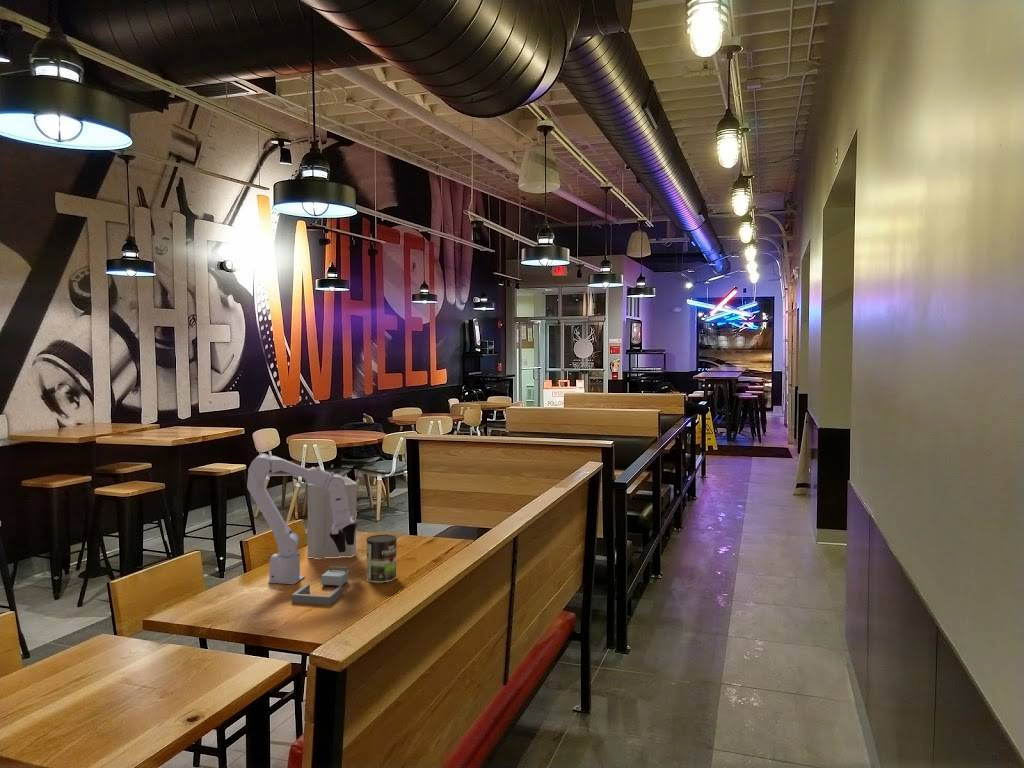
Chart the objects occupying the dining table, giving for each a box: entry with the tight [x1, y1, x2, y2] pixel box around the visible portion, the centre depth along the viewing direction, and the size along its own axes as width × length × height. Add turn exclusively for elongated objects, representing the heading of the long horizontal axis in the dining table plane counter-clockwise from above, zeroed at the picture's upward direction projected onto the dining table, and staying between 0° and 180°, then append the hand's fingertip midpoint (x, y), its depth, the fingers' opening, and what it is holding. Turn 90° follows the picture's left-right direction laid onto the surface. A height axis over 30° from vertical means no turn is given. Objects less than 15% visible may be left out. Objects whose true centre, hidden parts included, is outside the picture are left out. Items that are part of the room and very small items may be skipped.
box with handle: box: [320, 565, 349, 587], centre depth 231 cm, size 7×6×5 cm
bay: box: [291, 583, 344, 606], centre depth 217 cm, size 12×10×2 cm
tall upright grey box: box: [307, 476, 358, 558], centre depth 266 cm, size 19×15×28 cm
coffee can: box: [365, 534, 398, 584], centre depth 237 cm, size 10×10×14 cm
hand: (346, 548), depth 238 cm, fingers open, 7 cm apart
